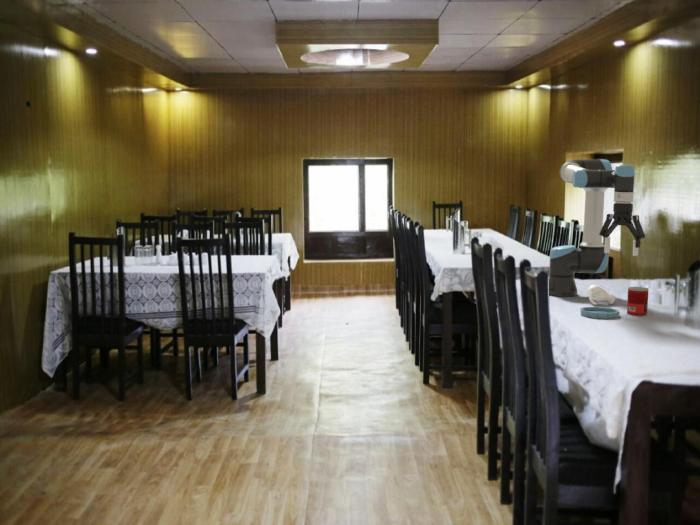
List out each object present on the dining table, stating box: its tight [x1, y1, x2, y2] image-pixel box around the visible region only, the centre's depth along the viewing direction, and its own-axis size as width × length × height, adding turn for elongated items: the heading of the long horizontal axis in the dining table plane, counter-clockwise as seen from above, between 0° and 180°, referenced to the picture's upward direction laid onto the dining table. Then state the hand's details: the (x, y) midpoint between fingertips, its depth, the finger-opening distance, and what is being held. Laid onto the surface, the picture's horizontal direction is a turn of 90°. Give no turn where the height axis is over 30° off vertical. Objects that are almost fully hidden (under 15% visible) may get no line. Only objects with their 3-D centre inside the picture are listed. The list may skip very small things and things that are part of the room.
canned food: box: [626, 286, 649, 317], centre depth 322 cm, size 8×8×11 cm
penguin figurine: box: [587, 284, 616, 306], centre depth 345 cm, size 6×8×12 cm
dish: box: [579, 306, 620, 320], centre depth 319 cm, size 15×15×2 cm
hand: (620, 254), depth 319 cm, fingers open, 13 cm apart
